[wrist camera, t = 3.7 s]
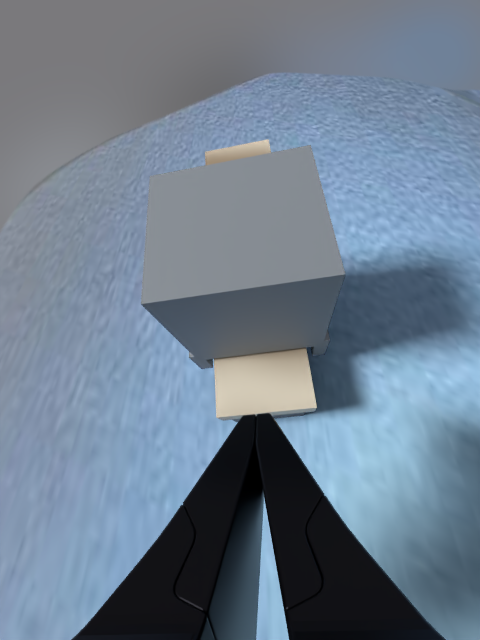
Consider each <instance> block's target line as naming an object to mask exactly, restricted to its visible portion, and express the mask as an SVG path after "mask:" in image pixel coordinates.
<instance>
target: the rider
mask: <svg viewBox="0 0 480 640" xmlns="http://www.w3.org/2000/svg"><path fill="white" fill-rule="evenodd" d="M344 277H345V271H344V267H343V264H342V260H341V256H340V253H339V249H338V245H337V241H336V238H335V234H334V230H333V227H332V223H331V219H330V215H329V212H328V208H327V204H326V201H325V197H324V193H323V189H322V186H321V182H320V178H319V174H318V171H317V167H316V163H315V160H314V156H313V152H312V148H311V145H309V146H303V147H298V148H293V149H288V150H283V151H278V152H272V153H267V154H262V155H257V156H252V157H247V158H241V159H236V160H231V161H226V162H221V163H216V164H210V165H205V166H200V167H195V168H190V169H185V170H179V171H174V172H169V173H164V174H159V175H154V176H150V182H149V196H148V210H147V225H146V239H145V253H144V268H143V282H142V296H141V305H142V306H143V307H144V308H145V309H146V310H147V311H149V312H150V313H151V314H152V315H153V316H154V317H155V318H156V319H157V320H158V321H159V322H160V323H161V324H162V325H163V326H164V327H165V328H166V329H167V330H168V331H169V332H170V333H171V334H172V335H173V336H174V337H175V338H176V339H177V340H178V341H179V342H180V343H181V344H182V345H183V346H184V347H185V348H186V349H187V350H188V351H189V358H190V359H191V360H192V361H193V362H194V363H196V364H197V365H198V366H199V367H200V368H201V369H205V368H213V359H215V358H223V357H231V356H240V355H248V354H256V353H264V352H272V351H281V350H289V349H297V348H305V347H311V352H312V356H315V355H323V354H325V352H326V349H327V347H328V344H329V341H330V338H329V333H328V326H329V323H330V320H331V317H332V314H333V311H334V308H335V305H336V302H337V299H338V295H339V292H340V289H341V286H342V283H343V280H344Z"/></svg>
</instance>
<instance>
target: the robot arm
mask: <svg viewBox="0 0 480 640" xmlns="http://www.w3.org/2000/svg"><path fill="white" fill-rule="evenodd" d="M264 498H265V503H266V509H267V515H268V521H269V526H270V532H271V538H272V543H273V549H274V555H275V561H276V566H277V572H278V578H279V583H280V589H281V595H282V600H283V606H284V612H285V618H286V623H287V629H288V635H289V640H446V639H445V638H444V637H442V636H441V635H440V634H439V633H438V632H437V631H436V630H435V629H434V628H433V627H432V626H431V625H430V624H429V623H428V622H427V620H426V619H425V618H424V617H423V616H422V615H421V614H420V613H419V611H418V610H417V609H416V608H415V607H414V606H413V605H412V603H411V602H410V601H409V600H408V599H407V598H406V596H405V595H404V594H403V593H402V592H401V590H400V589H399V588H398V587H397V586H396V585H395V583H394V582H393V581H392V580H391V579H390V578H389V576H388V575H387V574H386V573H385V572H384V571H383V569H382V568H381V567H380V566H379V565H378V563H377V562H376V561H375V560H374V559H373V558H372V556H371V555H370V554H369V553H368V552H367V551H366V549H365V548H364V547H363V546H362V544H361V543H360V542H359V541H358V539H357V538H356V537H355V536H354V535H353V533H352V532H351V531H350V530H349V528H348V527H347V526H346V524H345V523H344V521H343V520H342V519H341V517H340V516H339V514H338V513H337V512H336V510H335V509H334V507H333V506H332V504H331V503H330V501H329V500H328V498H327V497H326V496H324V493H323V491H322V490H321V488H320V487H319V485H318V484H317V482H316V481H315V479H314V478H313V476H312V475H311V473H310V472H309V470H308V469H307V467H306V466H305V464H304V463H303V461H302V460H301V458H300V457H299V455H298V454H297V452H296V451H295V449H294V448H293V446H292V445H291V443H290V442H289V440H288V439H287V437H286V436H285V434H284V433H283V431H282V430H281V428H280V427H279V425H278V424H277V422H276V421H275V419H274V418H273V416H272V415H271V414H270V413H262V414H258V415H257V416H256V415H255V414H251V415H243V416H242V417H241V419H240V420H239V422H238V423H237V424H236V426H235V427H234V429H233V430H232V432H231V433H230V435H229V436H228V438H227V439H226V441H225V442H224V444H223V445H222V446H221V448H220V449H219V451H218V452H217V454H216V455H215V457H214V458H213V460H212V461H211V463H210V464H209V465H208V467H207V468H206V470H205V471H204V473H203V474H202V476H201V477H200V479H199V480H198V482H197V483H196V485H195V486H194V487H193V489H192V490H191V492H190V493H189V495H188V496H187V498H186V499H185V501H184V502H183V505H181V506H180V508H179V509H178V511H177V512H176V514H175V515H174V517H173V518H172V519H171V521H170V522H169V524H168V525H167V526H166V528H165V529H164V530H163V532H162V533H161V535H160V536H159V537H158V539H157V540H156V541H155V542H154V544H153V545H152V546H151V547H150V549H149V550H148V551H147V552H146V554H145V555H144V556H143V558H142V559H141V560H140V561H139V562H138V564H137V565H136V566H135V567H134V568H133V570H132V571H131V572H130V573H129V574H128V576H127V577H126V578H125V579H124V581H123V582H122V583H121V584H120V585H119V587H118V588H117V589H116V590H115V591H114V593H113V594H112V595H111V596H110V597H109V599H108V600H107V601H106V602H105V603H104V605H103V606H102V607H101V608H100V610H99V611H98V612H97V613H96V614H95V616H94V617H93V618H92V619H91V620H90V621H89V622H88V623H87V625H86V626H85V627H84V628H83V629H82V630H81V631H80V632H79V633H78V634H77V635H76V636H75V637H74V638H73V639H71V640H256V630H257V612H258V594H259V576H260V558H261V540H262V521H263V503H264Z"/></svg>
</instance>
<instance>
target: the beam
mask: <svg viewBox="0 0 480 640" xmlns="http://www.w3.org/2000/svg"><path fill="white" fill-rule="evenodd" d="M267 153H271V151H270V145H269V140H263V141H258V142H253V143H248V144H243V145H238V146H233V147H228V148H223V149H218V150H213V151H208V152H205V161H206V165H210V164H216V163H221V162H226V161H231V160H236V159H241V158H247V157H252V156H257V155H262V154H267ZM214 369H215V393H216V416H217V418H219V419H221V420H234V421H236V422H239V420H240V419H241V417H242V416H243V415H251V414H255V415H256V416H257V415H258V414H262V413H270V414H271V415H272V416H273V418H281V417H291V416H302V415H304V414H305V412H314V411H315V410H316V408H317V405H316V399H315V394H314V388H313V383H312V377H311V372H310V366H309V361H308V355H307V350H306V347H305V348H297V349H289V350H281V351H272V352H264V353H256V354H248V355H240V356H231V357H223V358H215V359H214Z"/></svg>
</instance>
